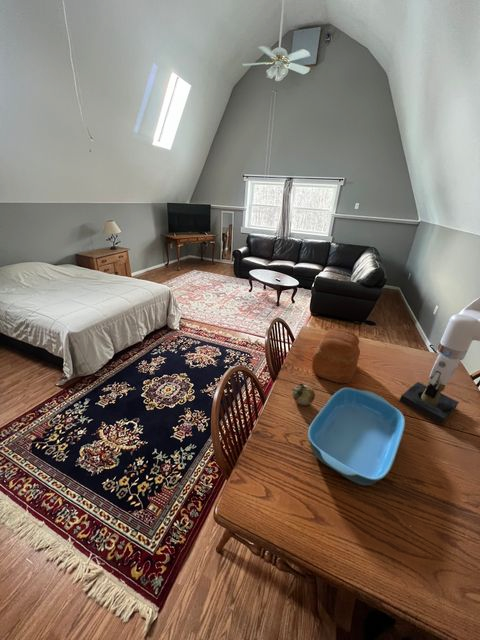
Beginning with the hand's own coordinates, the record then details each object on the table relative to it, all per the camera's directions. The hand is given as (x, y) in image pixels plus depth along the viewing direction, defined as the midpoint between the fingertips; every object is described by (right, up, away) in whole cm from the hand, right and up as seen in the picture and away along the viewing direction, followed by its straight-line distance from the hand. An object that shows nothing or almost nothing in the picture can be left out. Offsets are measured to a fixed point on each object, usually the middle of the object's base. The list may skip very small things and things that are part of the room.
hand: (432, 392), depth 98 cm
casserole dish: (-35, -12, -14) cm, 39 cm away
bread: (-29, +5, +21) cm, 36 cm away
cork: (0, -5, +3) cm, 6 cm away
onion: (-47, -4, +1) cm, 48 cm away
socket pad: (0, -5, +2) cm, 6 cm away
